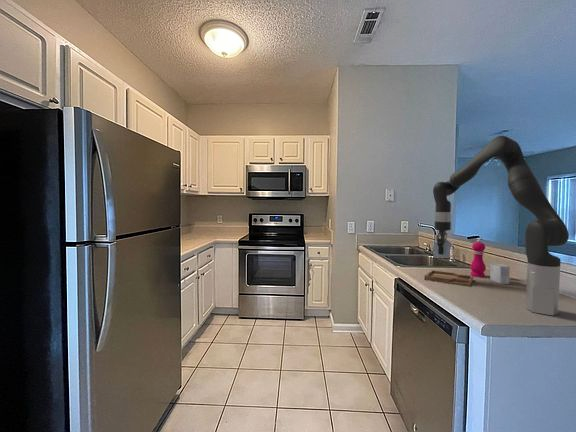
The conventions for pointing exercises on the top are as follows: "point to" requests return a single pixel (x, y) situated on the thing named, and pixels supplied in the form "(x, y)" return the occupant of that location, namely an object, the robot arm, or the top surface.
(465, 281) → the wooden serving tray
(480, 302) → the top surface
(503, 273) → the medicine box
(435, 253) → the panel block
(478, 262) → the pepper mill
